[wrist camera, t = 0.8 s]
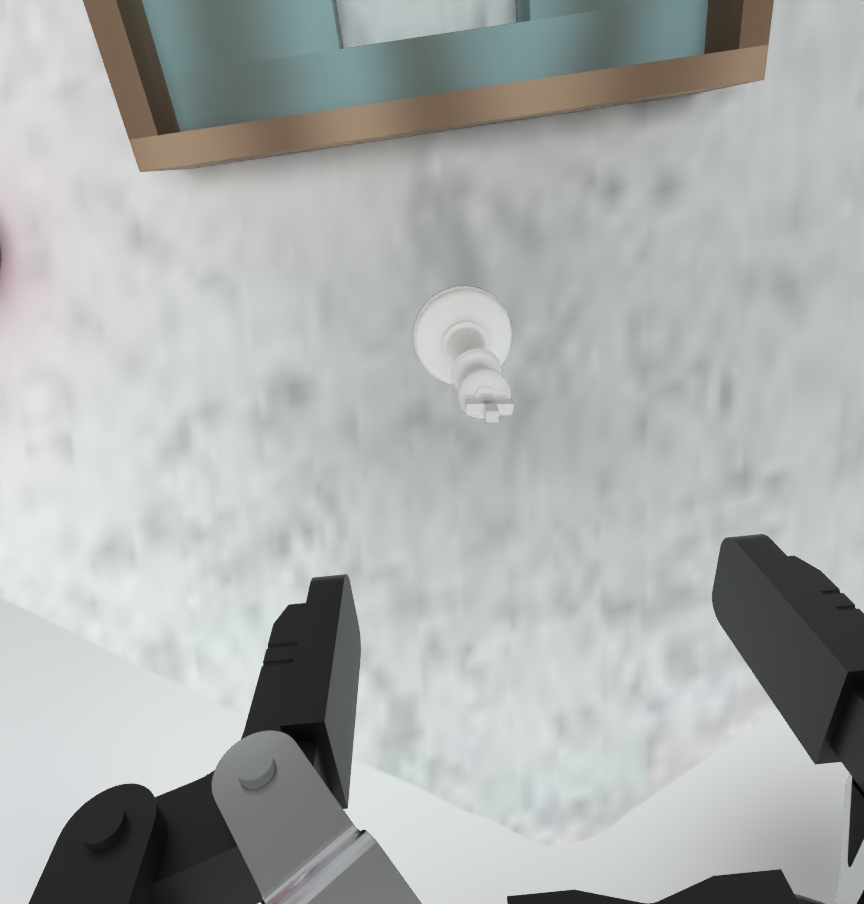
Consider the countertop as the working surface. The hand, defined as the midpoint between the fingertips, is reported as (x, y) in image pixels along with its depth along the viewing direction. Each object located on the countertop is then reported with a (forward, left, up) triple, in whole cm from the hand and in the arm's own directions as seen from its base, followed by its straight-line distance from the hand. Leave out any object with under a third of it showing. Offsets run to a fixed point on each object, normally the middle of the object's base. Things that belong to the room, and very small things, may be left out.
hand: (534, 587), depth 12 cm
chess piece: (0, 0, -19) cm, 19 cm away
